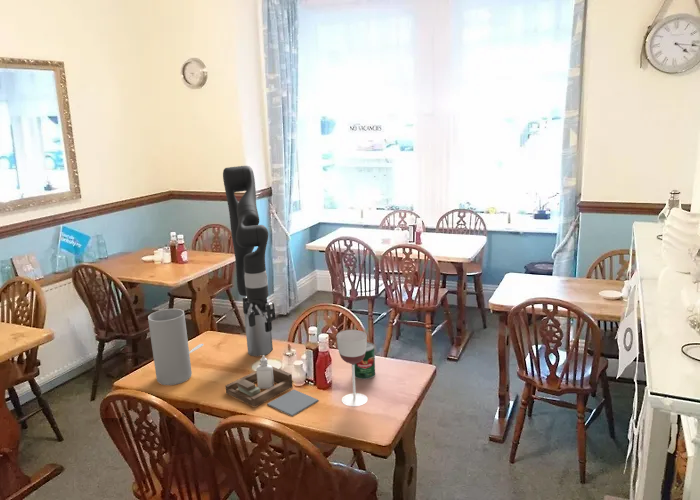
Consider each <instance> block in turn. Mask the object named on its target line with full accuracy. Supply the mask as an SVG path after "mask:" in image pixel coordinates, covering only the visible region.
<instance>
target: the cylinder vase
mask: <svg viewBox="0 0 700 500" xmlns="http://www.w3.org/2000/svg"><path fill="white" fill-rule="evenodd" d="M185 316H186V314H185V311H184V310H182V309H180V308H165V309H160V310H156V311H154V312H152V313H150V314H149V315H148V316H147V319H148V320H147V321H148V322H147V323H148V328H149V334H150V342H151V348H152V357H153V365H154V370H155V377H156V381H157V383H159V384H160V385H162V386H175V385H179V384H182V383H185V382H186V381H188V380H190V378H191V377H192V374H193V372H192V363H191V357H190V354H189V351H190V349H189V340H188V334H187V333H188V331H187V324H186V317H185Z"/></svg>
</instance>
